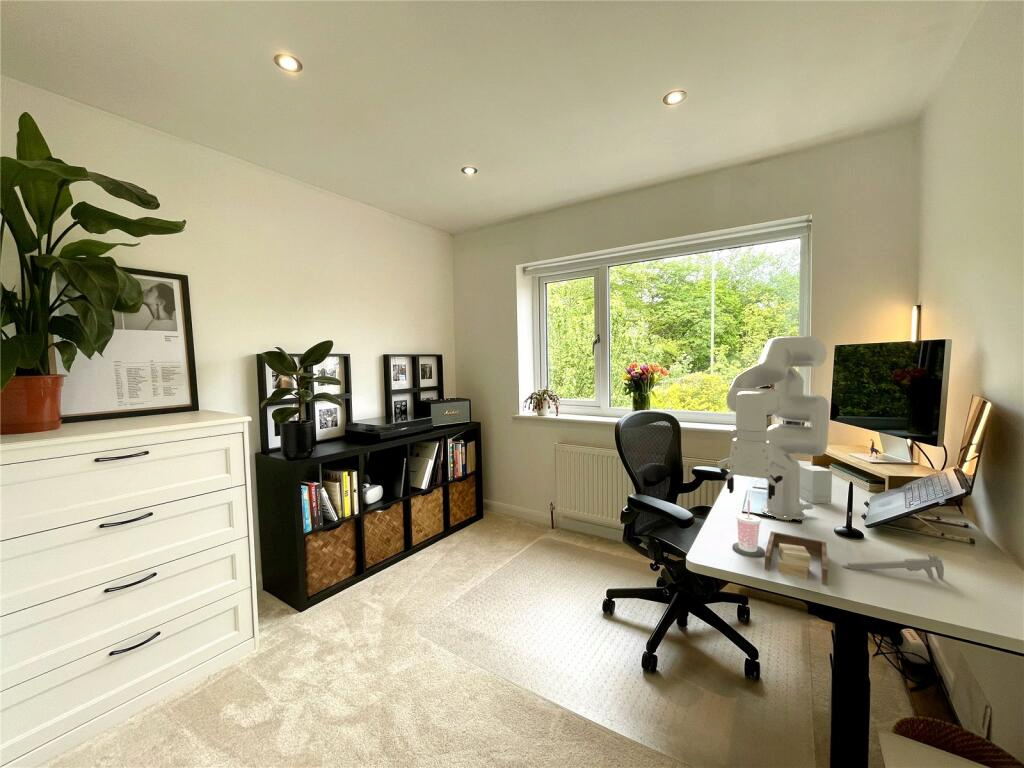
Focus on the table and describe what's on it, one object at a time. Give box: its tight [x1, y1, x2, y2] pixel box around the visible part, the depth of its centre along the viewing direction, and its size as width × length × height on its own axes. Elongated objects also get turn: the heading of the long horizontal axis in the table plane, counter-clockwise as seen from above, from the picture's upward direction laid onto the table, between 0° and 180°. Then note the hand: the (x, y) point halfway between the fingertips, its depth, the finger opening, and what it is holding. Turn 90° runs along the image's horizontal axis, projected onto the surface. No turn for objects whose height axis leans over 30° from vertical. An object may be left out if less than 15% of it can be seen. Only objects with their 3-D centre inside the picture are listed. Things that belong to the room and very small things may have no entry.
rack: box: [763, 531, 829, 586], centre depth 111 cm, size 18×13×4 cm
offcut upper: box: [778, 543, 811, 569], centre depth 107 cm, size 6×6×3 cm
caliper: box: [841, 553, 945, 581], centre depth 106 cm, size 20×1×6 cm, turn 72°
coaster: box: [732, 542, 766, 558], centre depth 119 cm, size 8×8×1 cm
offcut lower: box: [778, 556, 810, 580], centre depth 107 cm, size 6×6×3 cm
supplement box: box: [800, 465, 833, 504], centre depth 159 cm, size 7×7×13 cm
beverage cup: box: [735, 499, 762, 552], centre depth 119 cm, size 6×6×14 cm
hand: (750, 494), depth 119 cm, fingers open, 9 cm apart
